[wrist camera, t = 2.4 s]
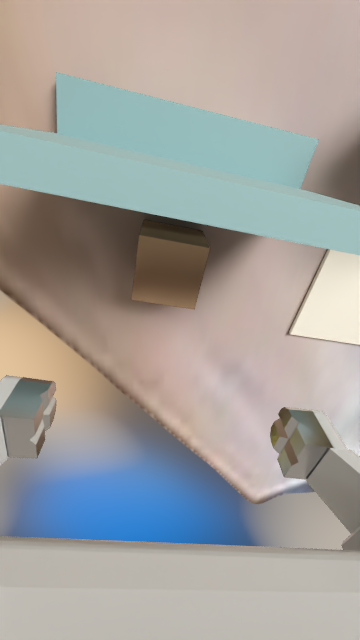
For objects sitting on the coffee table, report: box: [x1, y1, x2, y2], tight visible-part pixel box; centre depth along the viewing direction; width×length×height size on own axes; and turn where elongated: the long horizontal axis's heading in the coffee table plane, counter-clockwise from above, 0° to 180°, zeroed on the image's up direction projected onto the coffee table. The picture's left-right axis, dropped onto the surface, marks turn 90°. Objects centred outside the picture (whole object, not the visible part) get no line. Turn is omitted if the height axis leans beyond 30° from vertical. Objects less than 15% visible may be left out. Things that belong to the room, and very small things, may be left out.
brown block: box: [131, 220, 210, 309], centre depth 23 cm, size 5×5×5 cm
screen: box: [0, 72, 360, 255], centre depth 15 cm, size 5×18×14 cm, turn 79°
